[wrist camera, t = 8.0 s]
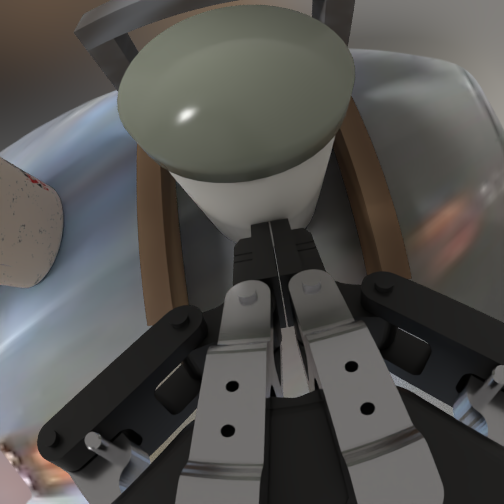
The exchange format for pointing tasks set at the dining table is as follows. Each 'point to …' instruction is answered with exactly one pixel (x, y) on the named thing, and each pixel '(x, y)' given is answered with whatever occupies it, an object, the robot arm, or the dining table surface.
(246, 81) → the jar
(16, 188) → the teacup with lid
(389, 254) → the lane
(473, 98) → the dining table surface
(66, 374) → the dining table surface
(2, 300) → the dining table surface
